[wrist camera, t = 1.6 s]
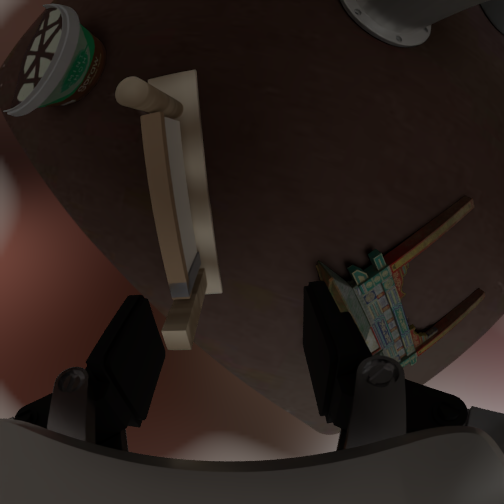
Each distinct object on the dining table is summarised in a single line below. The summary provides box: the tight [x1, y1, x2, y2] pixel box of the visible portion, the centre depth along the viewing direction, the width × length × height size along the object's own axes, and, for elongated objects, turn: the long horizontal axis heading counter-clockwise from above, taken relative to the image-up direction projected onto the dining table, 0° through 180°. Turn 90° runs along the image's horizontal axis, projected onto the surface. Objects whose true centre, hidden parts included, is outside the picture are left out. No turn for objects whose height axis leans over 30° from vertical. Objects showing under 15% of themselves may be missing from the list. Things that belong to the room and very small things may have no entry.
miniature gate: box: [316, 196, 485, 367], centre depth 32 cm, size 27×6×30 cm
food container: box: [4, 4, 106, 117], centre depth 17 cm, size 12×6×10 cm, turn 162°
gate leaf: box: [140, 112, 201, 300], centre depth 23 cm, size 15×2×7 cm, turn 5°
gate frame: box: [115, 70, 223, 350], centre depth 22 cm, size 24×5×12 cm, turn 5°
